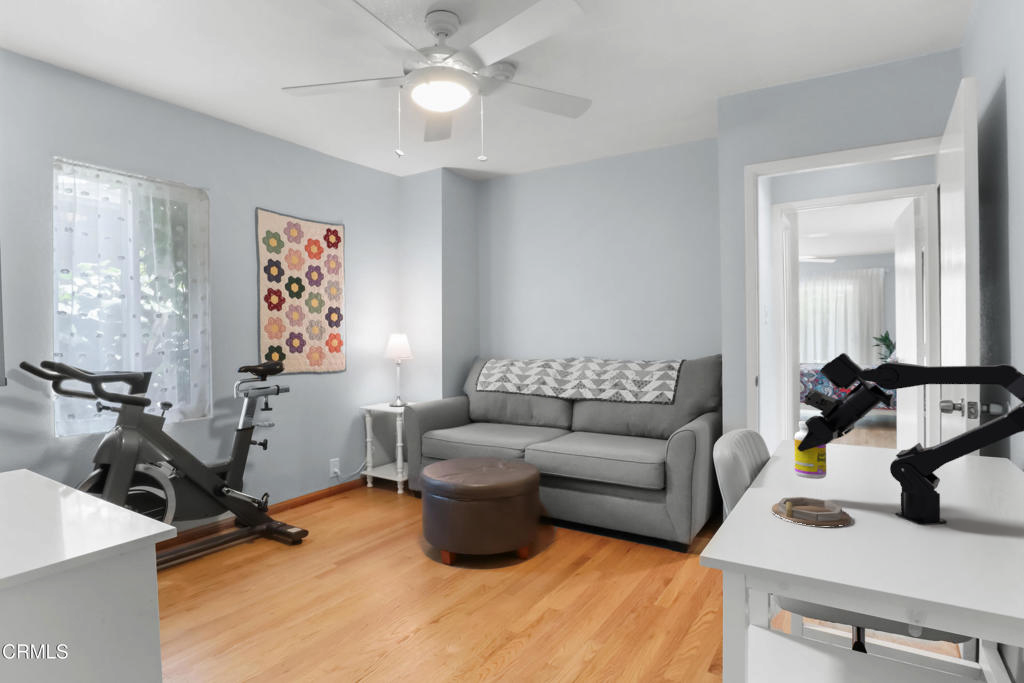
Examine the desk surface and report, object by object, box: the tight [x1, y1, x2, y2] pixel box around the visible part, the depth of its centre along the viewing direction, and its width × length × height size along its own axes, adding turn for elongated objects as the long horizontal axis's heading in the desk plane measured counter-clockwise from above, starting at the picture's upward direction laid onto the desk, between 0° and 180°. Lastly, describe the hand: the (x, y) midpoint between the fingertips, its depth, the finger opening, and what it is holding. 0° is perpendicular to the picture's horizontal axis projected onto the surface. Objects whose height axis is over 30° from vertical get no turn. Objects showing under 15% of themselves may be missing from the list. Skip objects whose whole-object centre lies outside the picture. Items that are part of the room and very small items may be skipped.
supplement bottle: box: [793, 420, 827, 480], centre depth 132 cm, size 7×7×13 cm
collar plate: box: [771, 496, 851, 526], centre depth 120 cm, size 15×15×4 cm
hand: (803, 447), depth 133 cm, fingers closed on supplement bottle, 7 cm apart
